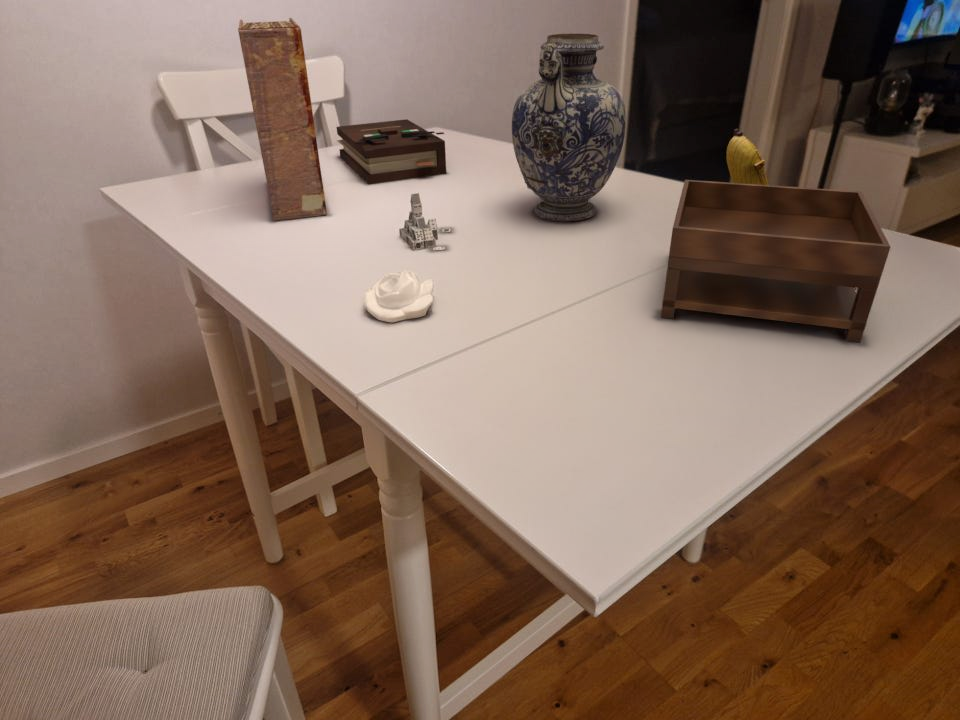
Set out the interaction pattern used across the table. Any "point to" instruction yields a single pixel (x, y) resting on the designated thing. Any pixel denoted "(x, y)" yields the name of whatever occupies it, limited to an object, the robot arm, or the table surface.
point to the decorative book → (392, 151)
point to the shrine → (745, 161)
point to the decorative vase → (568, 129)
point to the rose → (399, 297)
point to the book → (283, 117)
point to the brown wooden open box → (775, 254)
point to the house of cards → (420, 228)
